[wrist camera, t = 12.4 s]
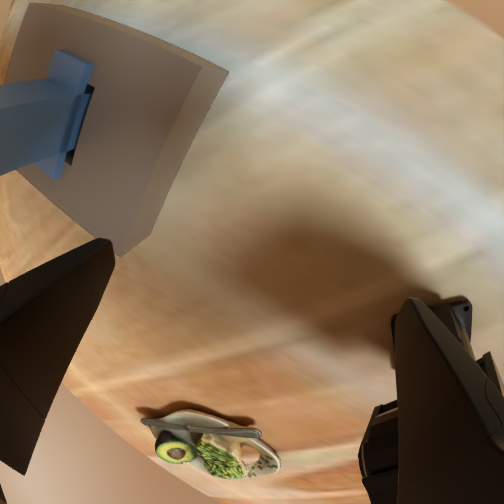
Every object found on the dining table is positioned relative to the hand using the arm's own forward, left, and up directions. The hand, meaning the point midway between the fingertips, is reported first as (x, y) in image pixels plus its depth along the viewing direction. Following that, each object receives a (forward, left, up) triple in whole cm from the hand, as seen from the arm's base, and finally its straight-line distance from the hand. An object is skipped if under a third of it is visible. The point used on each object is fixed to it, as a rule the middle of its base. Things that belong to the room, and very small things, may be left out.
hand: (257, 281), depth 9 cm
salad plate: (-30, +22, -13) cm, 39 cm away
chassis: (+11, +14, -12) cm, 21 cm away
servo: (+11, +14, -12) cm, 21 cm away
